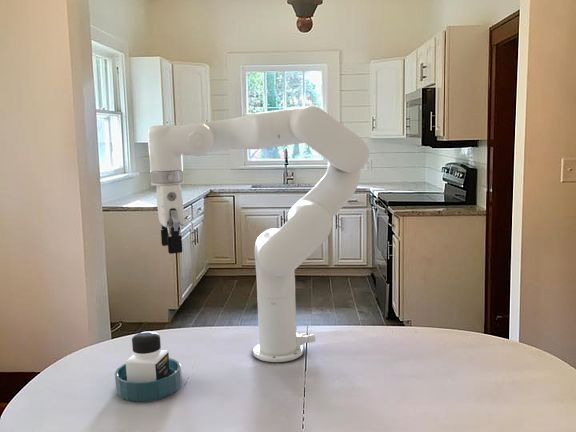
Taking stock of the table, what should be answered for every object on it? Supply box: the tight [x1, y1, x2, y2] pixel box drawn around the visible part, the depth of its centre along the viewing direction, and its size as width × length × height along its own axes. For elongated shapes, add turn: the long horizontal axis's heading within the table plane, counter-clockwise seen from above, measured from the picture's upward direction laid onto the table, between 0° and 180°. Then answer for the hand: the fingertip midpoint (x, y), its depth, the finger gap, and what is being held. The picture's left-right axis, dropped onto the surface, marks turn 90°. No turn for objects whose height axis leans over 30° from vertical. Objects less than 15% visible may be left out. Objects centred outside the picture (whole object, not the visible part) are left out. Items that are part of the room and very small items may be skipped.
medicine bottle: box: [125, 331, 170, 382], centre depth 133 cm, size 7×7×12 cm
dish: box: [114, 357, 183, 403], centre depth 134 cm, size 14×14×4 cm
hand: (171, 248), depth 144 cm, fingers open, 9 cm apart
